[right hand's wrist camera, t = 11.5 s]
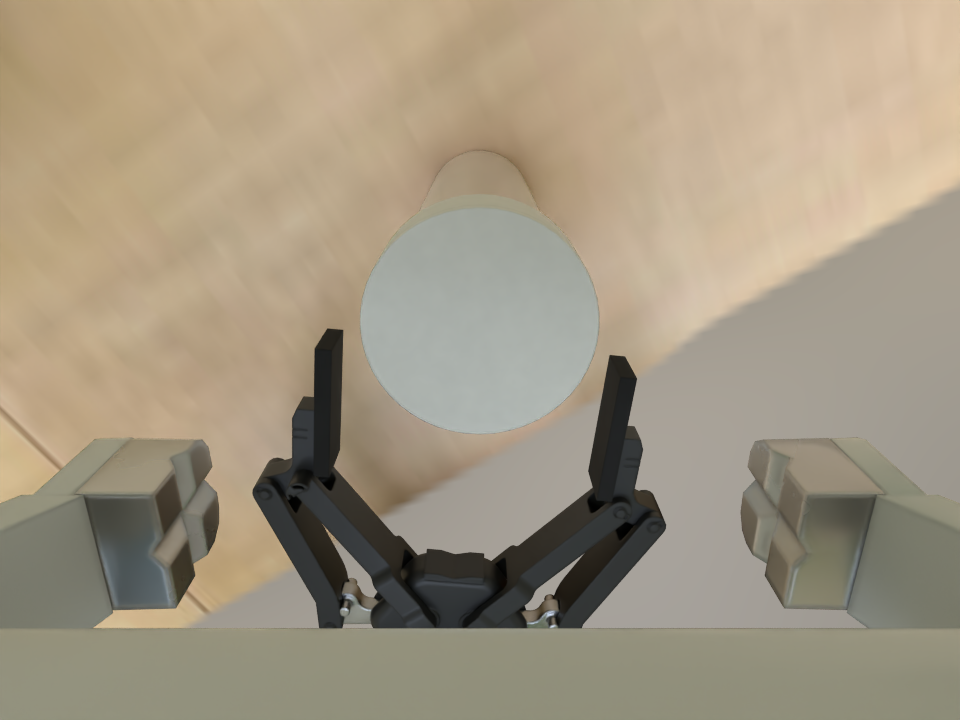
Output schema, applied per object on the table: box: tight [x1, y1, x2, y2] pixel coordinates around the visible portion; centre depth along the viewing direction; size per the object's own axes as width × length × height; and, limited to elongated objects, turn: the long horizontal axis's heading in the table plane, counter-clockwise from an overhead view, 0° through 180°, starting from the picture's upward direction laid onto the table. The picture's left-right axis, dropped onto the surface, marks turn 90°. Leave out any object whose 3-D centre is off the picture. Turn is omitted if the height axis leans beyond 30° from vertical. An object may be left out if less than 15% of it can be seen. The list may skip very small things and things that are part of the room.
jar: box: [419, 150, 540, 212], centre depth 26 cm, size 5×5×20 cm
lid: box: [360, 194, 599, 434], centre depth 18 cm, size 6×6×2 cm
